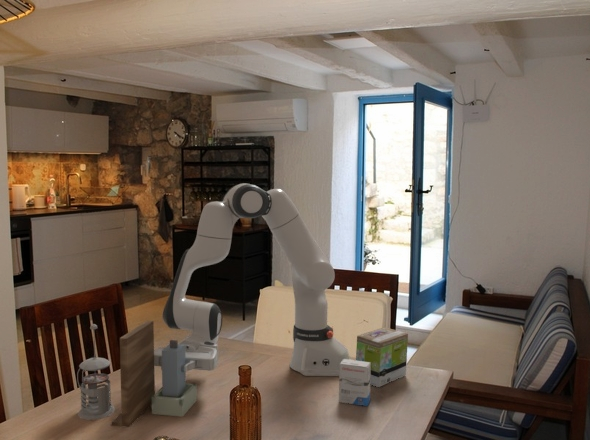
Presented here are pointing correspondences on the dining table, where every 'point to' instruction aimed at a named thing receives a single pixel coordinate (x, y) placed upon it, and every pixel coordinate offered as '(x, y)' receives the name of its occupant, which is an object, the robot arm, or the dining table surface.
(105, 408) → the french press
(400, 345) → the tea box
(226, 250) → the robot arm
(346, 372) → the ink box
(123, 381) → the wooden flat block
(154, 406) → the pale green open box
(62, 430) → the dining table surface
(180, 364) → the grey block with tab
